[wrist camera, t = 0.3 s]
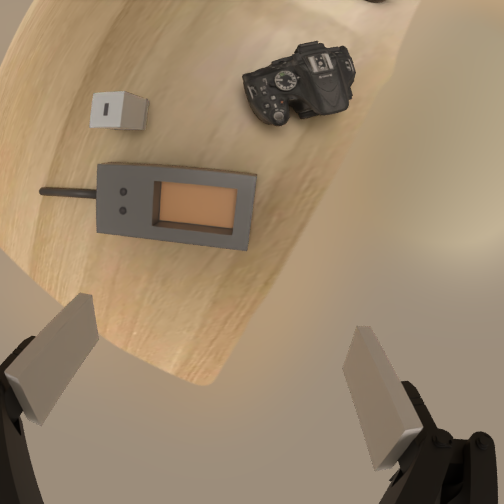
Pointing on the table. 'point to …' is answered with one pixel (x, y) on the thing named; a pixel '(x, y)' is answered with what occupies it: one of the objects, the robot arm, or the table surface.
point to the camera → (302, 84)
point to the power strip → (171, 203)
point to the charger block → (118, 111)
